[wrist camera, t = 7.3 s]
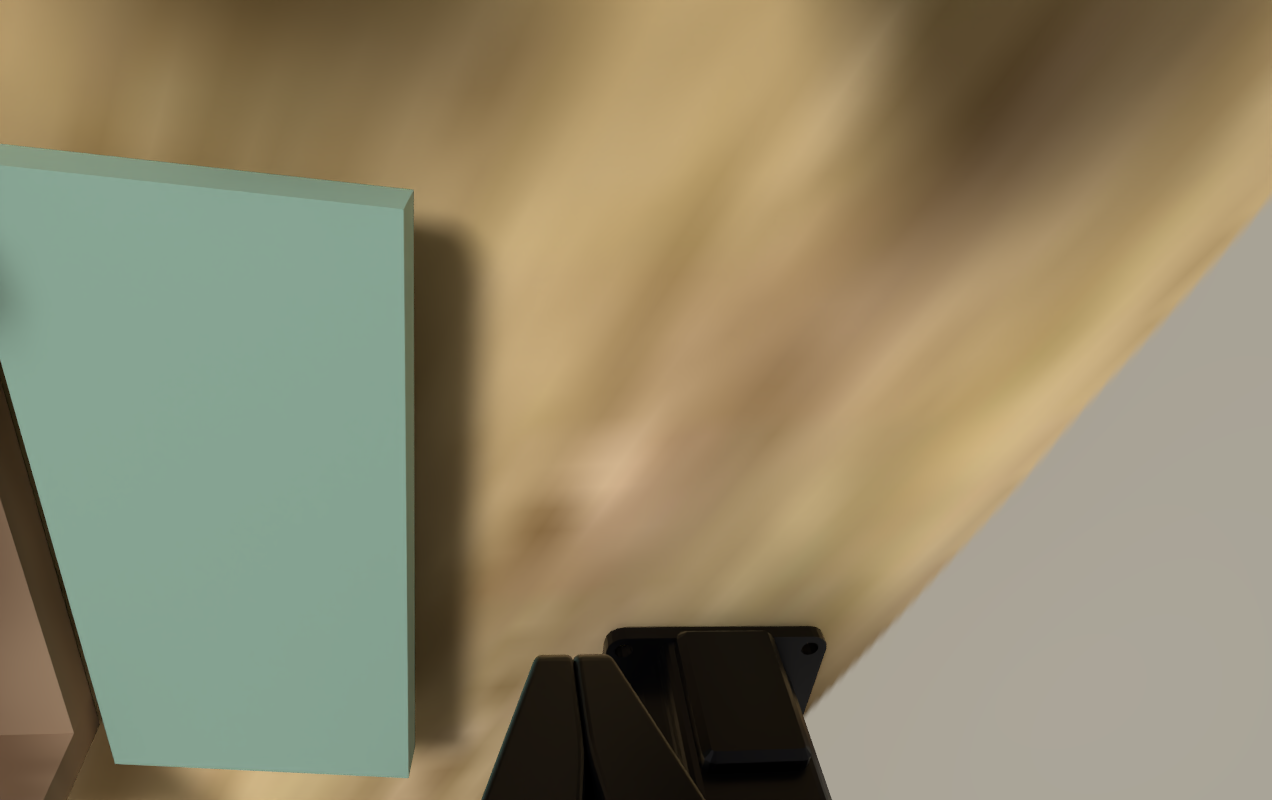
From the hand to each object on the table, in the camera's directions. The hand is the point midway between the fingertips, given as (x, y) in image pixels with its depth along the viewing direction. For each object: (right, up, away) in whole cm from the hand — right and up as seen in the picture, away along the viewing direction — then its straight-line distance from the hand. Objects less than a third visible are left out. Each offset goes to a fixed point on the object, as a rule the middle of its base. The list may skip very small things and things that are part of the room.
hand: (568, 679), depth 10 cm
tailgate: (-12, +1, +9) cm, 15 cm away
